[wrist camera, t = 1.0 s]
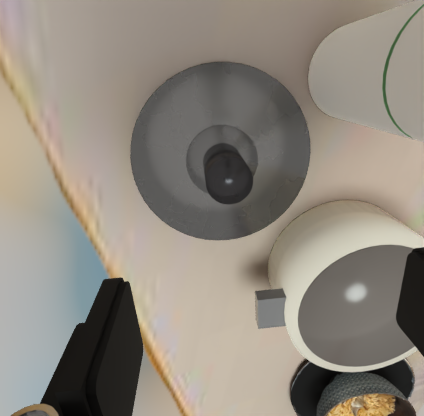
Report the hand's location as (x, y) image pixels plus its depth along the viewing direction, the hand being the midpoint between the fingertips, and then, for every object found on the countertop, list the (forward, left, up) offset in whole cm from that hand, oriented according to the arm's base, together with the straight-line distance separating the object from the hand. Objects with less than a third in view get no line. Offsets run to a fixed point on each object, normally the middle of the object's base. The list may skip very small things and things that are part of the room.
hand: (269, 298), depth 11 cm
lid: (0, 0, -19) cm, 19 cm away
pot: (+12, +11, -18) cm, 24 cm away
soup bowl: (+30, +14, -19) cm, 38 cm away
